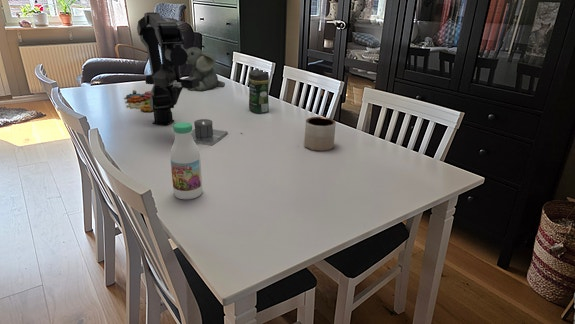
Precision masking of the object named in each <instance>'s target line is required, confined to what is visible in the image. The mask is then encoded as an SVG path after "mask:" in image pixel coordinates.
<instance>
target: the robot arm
mask: <svg viewBox="0 0 575 324" xmlns="http://www.w3.org/2000/svg"><path fill="white" fill-rule="evenodd" d="M136 31H137V32H136V33H137V35H138V36H139V39H140V42H141V43H142V44H143V45H144V47H145V48H146V53H147V57H148V62H149V68H150V74H148V75H146V76H145V79H144V81H145V85H153V86H152V88H151V90H150V91H151V96H150V101H149V105H150V108H151V109H152V110H153V111H152V112H153V119H154V121H152V125H153V124H154V125H159V126H167V125H169V124H171V123H173V122H175V119H173V112H172V109H174V108H175V105H177V103H178V100H179V97H180V95H181V93H182V90H183V89H187V90H189V89H193V88H195V87H197V86H200V82H199V79H198V78H194V77H189V76H188V77H185V78H183V74H182V73H181V68H180V67H182V66H183V65H185V64H186V61H187V59H188V55H187V53H186V51H185V50H184V49H182V48H181V44H183V45H184V44H185V37H184V35H183V31H182V29H181V27H180V26H179V25H178V22H176V21H168V20H166V19H165V18H164V17H162V16H161V15H160V13H158V12H156V11H155V12H153V11H152V12H145V13H144V15H143V16H142V17H141V18H140V19H139V20H138V21H137V26H136ZM159 45H160V48H159ZM154 105H155V106H154Z"/></svg>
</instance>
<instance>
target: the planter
mask: <svg viewBox="0 0 575 324" xmlns="http://www.w3.org/2000/svg"><path fill="white" fill-rule="evenodd" d="M336 123H337V122H336V120H334V119H332V118H330V117H326V116H313V117H308V118H307V119H306V120H305V125H304V126H305V127H304V141H303V145H304V146H305V148H306V149H309V150H311V151H315V152H327V151H329V150H332V149H333V148H334V146H335V136H336Z"/></svg>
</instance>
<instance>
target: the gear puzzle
mask: <svg viewBox="0 0 575 324" xmlns="http://www.w3.org/2000/svg"><path fill="white" fill-rule="evenodd" d="M150 96H151V90H148V91H144V93H137V90H136V89H134V90H132V93H129V94H126V95H125V97H123V99H124V100H125V101H124V102H125V104H128V105H126V108H129V109H131V110H132V109H134V110H140V111H142V112H153V110H152V109H151V108H150V105H149V101H150ZM154 106H155V105H154Z"/></svg>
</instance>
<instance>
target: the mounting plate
mask: <svg viewBox="0 0 575 324" xmlns="http://www.w3.org/2000/svg"><path fill="white" fill-rule="evenodd" d="M227 135H229V132H228V131H227V130H221V129H220V130H219V129H214V128H213V135H212V136H210V137H205V138H200V137H196V135H195V128H194V129H192V137H193V140H194V142H195V143H196V144H198V145H206V146H214V145H215V144H217V143H218V142H219V141H220V140H222V139H223V138H225V137H226V136H227Z"/></svg>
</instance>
